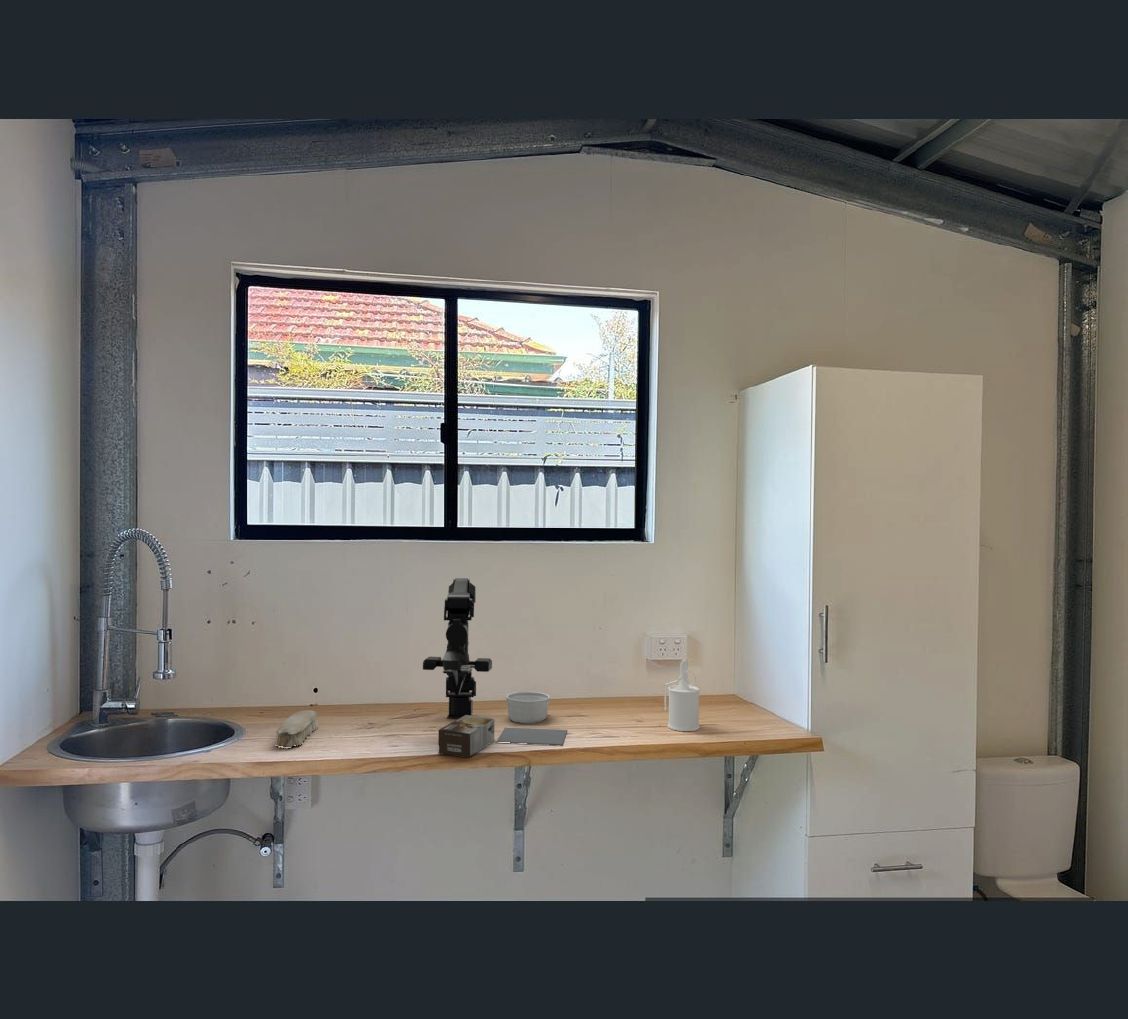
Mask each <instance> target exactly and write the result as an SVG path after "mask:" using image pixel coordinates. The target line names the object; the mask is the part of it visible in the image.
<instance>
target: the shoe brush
mask: <svg viewBox="0 0 1128 1019" xmlns="http://www.w3.org/2000/svg"><path fill="white" fill-rule="evenodd" d="M317 716H318V712H317V711H315V710H306V709H305V710H299V711H296V712H295V713H292V714H291V715H290V716H289V717H287V719H285V720H284V722H282V723H281V724H280V726H279V727H278V728H277V730H276V735H277V738H276V741H275V744H276V745H278V746H283V747H292V746H294V745H299V746H302V745H303V744H304V742H305V741H306V739H305V738H307V739H308V736H311V735H312V734H313V732H315V731H316V730H317V729H318V728H319V723H318V718H317ZM315 729H316V730H315ZM312 731H313V732H312ZM311 733H312V734H311ZM310 734H311V735H310ZM303 741H304V742H303ZM302 743H303V744H302ZM301 744H302V745H301ZM292 748H293V747H292Z"/></svg>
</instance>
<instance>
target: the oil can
mask: <svg viewBox="0 0 1128 1019" xmlns="http://www.w3.org/2000/svg"><path fill="white" fill-rule="evenodd" d="M679 664H680V665H679V670H680V672H679V673H680V674H679V676H678V678H677V679H675V680H672V681H669V682H666V683H665V684H664V686H663V688H664V696H663V701H664V702H663V707H664V708H663V710H664V711H666V710H667V690H668V724H667V727H668V729H670V730H673V731H675V730H676V732H682V731H686V732H685V733H687V731H691V732H696V731H699V730H700V722H699V720H700V716H699V714H700V712H699V711H700V692H701V689H700V688H699V687H697V686H693V685H694V684H695V682H696V675H695V673H693V671H691V670H690V671H689V670H688V659H685V658H683V659H682V660H681V661H680V663H679ZM688 673H691V674H692V675H693V678H694V679H693V682H692V683H691V684H690V680H689V679H688ZM678 681H679V682H678ZM675 682H678V684H674V683H675ZM672 683H673V684H674V685H670V684H672ZM667 685H670V686H668V688H667Z"/></svg>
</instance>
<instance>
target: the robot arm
mask: <svg viewBox="0 0 1128 1019" xmlns="http://www.w3.org/2000/svg"><path fill="white" fill-rule="evenodd" d="M476 592H477V591H476V585H474V584H472V582H471V579H470V578H466V577H456V578H453V582H452V583H451V584H450V585H449V586H448V593H447V597H446V598H444V609H443V621H448V623H447V629H446V632H445V638H446V640H447V644H446V651H445V653H444V655H443V657H441V656H428V657H426V658H425V659H424V660H422V670H425V671H434V670H435V669H436V668H438V667H439V668H443V670H442V673H443V674H446V675H447V676H446V677H445V698H448V715H447V716H446V718H447V719H459V718H461V717H463V716H465V715H469V716H472V715H473V713H474V712H473V711H474V708H473V704H474V701H473V699H472V698H474V697H476V696H477V681H476V680H475V677H474V676H473V673H472V671H473V669H474V670H475V671H476V672H482V673H483V672H484V673H488V672H490V671H491V670H492V669H493V662H492V661H493V660H492V659H491V658H489V657H488V658H486V657H484V658H483V657H478V658H477V659H476V660H470V654H469V645H470V644H469V643H470V642H469V621H472V618H474V616H475V603H476V594H477V593H476Z"/></svg>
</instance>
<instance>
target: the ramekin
mask: <svg viewBox="0 0 1128 1019" xmlns="http://www.w3.org/2000/svg"><path fill="white" fill-rule="evenodd" d="M505 697H506V699H505V700H506V707H507V714H508V718H509V719H510V721H512V722H514V721H515V722H514V723H518V722H520V724H537V723H536V722H538V723H541V722H540V721H542V722H543V720H544V719H545V720H546V719H547V716H548V713H549V712H548V711H549V704H550V702H551V698H550V695H549V694H547V693H543V692H540V691H539V692H538V691H516V692H511V693H508V694H507V695H506V696H505ZM545 720H544V721H545Z"/></svg>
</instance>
